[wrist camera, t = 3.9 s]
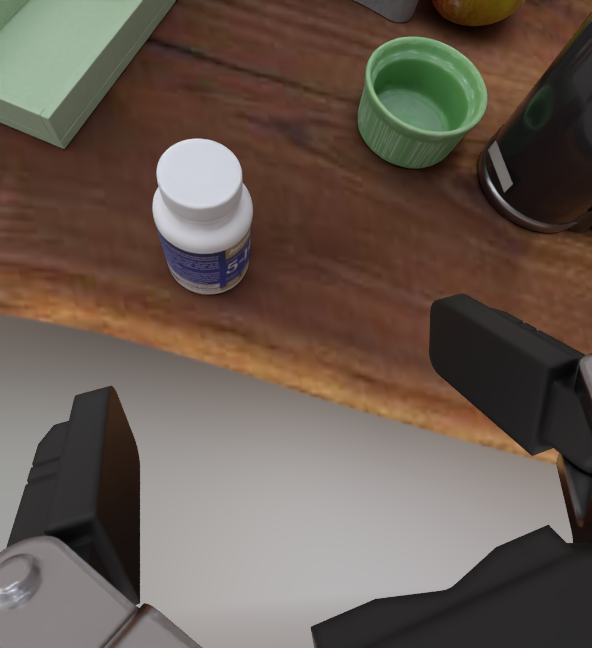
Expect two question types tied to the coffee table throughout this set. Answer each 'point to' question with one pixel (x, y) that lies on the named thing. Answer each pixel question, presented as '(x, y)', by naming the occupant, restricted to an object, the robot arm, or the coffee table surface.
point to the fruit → (476, 10)
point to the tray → (66, 59)
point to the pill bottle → (203, 215)
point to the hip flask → (392, 8)
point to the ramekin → (419, 101)
